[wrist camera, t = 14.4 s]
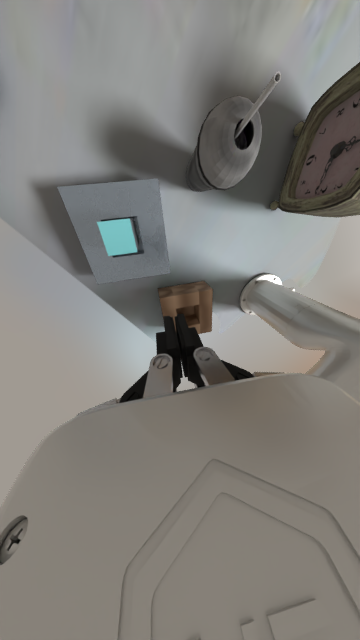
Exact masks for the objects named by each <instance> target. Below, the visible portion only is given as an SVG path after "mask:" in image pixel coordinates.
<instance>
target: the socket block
mask: <svg viewBox="0 0 360 640" xmlns="http://www.w3.org/2000/svg"><path fill="white" fill-rule="evenodd" d="M57 188H58V190H59V193H60V195H61V198H62V200H63V202H64V205H65V207H66V210H67V212H68V214H69V217H70V219H71V222H72V224H73V226H74V229H75V231H76V234H77V236H78V238H79V241H80V243H81V246H82V248H83V250H84V253H85V255H86V258H87V260H88V262H89V265H90V267H91V270H92V272H93V274H94V277H95V279H96V282H97V284H103V283H110V282H116V281H123V280H129V279H136V278H142V277H149V276H155V275H162V274H168V273H170V266H169V259H168V251H167V243H166V236H165V228H164V220H163V213H162V205H161V197H160V190H159V182H158V179H146V180H134V181H122V182H109V183H97V184H85V185H73V186H61V187H57ZM120 219H132V220H134V222H135V226H136V231H137V235H138V240H139V247H138V251H137V252H135V253H127V254H120V255H112V256H108V253H107V250H106V248H105V245H104V242H103V239H102V236H101V233H100V230H99V227H98V224H97V222H102V221H111V220H120Z"/></svg>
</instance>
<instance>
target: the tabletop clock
mask: <svg viewBox="0 0 360 640" xmlns="http://www.w3.org/2000/svg"><path fill="white" fill-rule="evenodd" d="M294 135H295V136H296V137H297V136H299V137H298V140H297V143H296V146H295V148H294V151H293V154H292V157H291V159H290V162H289V165H288V168H287V172H286V175H285V179H284V182H283V185H282V189H281V193H280V197H279V202H278V201H274V202H272V203H271V205H270V209H271V210H276V209H277V208H280V209H281V210H282V211H285V212H290V213H298V214H305V215H313V216H322V217H345V216H353V215H360V62H359V63H358V64H357V65H356V66H354V67H353V68H352V69H351V70H350V71H348V72H347V73H346V74H345V75H343V76H342V77H341V78H340V79H339V80H337V81H336V82H335V83H334V84H333V85H332V86H331V87H330V88H329V89H328V90H327V91H326V92H325V93H324V94H323V95H322V96H321V97H320V98H319V100H318V101H317V102H316V103H315V104H314V105H313V106H312V108H311V110H310V112H309V114H308V116H307V118H306V120H305V123H304V122H303V121H302V122H300V123H298V124H297V125H296V127H295V129H294Z"/></svg>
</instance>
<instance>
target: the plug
mask: <svg viewBox="0 0 360 640" xmlns="http://www.w3.org/2000/svg"><path fill="white" fill-rule="evenodd" d="M97 224H98V227H99V230H100V233H101V236H102V239H103V242H104V245H105V248H106V250H107V253H108V256H112V255H120V254H127V253H135V252H137V251H138V247H139V240H138V235H137V231H136V226H135V222H134V220H132V219H120V220H111V221H102V222H97Z"/></svg>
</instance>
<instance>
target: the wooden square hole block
mask: <svg viewBox="0 0 360 640" xmlns="http://www.w3.org/2000/svg"><path fill="white" fill-rule="evenodd" d="M158 293H159V298H160V303H161V309H162V314H163V316H169V315H170V317H173V321H174V325H175V316H177V314H184V317H185V319H186V322H187V325H188V328H192V327H195V328H196V330H197V333H198V334H200V333H206V332H211V331H212V296H213V289H212V288H211V287H210V286H209V285H208V284H207V283H206V282H205V281H201V282H195V283H188V284H182V285H176V286H170V287H164V288H158ZM163 319H164V318H163ZM175 330H176V325H175Z"/></svg>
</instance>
